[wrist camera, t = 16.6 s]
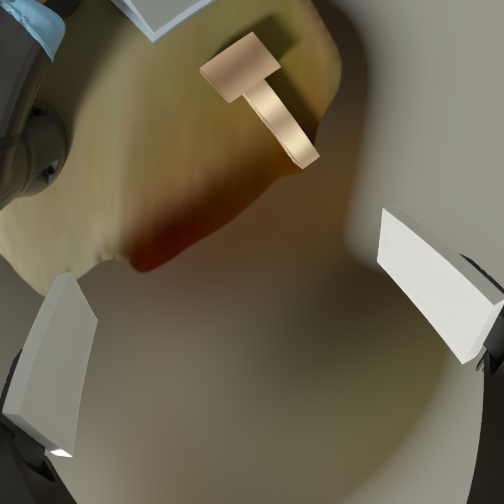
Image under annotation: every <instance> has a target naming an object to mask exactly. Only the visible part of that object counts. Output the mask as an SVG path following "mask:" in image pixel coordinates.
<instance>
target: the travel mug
mask: <svg viewBox="0 0 504 504" xmlns="http://www.w3.org/2000/svg"><path fill="white" fill-rule="evenodd" d="M35 1H37V2H39V3H41V4H43V5H44V6H46V7H48V8H49V9H51V10H52V11H54V12H55V13H56V14H58V15H59V16H60V17H61V18H62V19H64V18H66V17H68V16H69V15H70V14H71V13H72V12H73V11H74V10H75V9H76V8H77V6H78V5H79V3H80V0H35Z"/></svg>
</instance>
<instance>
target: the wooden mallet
mask: <svg viewBox="0 0 504 504" xmlns="http://www.w3.org/2000/svg"><path fill="white" fill-rule="evenodd" d="M280 67H281V66H280V65H279V63H278V62H277V61H276V60H275V58H274V57H273V56H272V55H271V53H270V52H269V51H268V50H267V48H266V47H265V46H264V45H263V44H262V42H261V41H260V40H259V39H258V38H257V36H256V35H255V34H254V33H253V32H251V33H249V34H248V35H246V36H245V37H243V38H242V39H240V40H239V41H237V42H236V43H234V44H233V45H231V46H230V47H228V48H227V49H225V50H224V51H223V52H221V53H220V54H218V55H217V56H216V57H214V58H213V59H211V60H210V61H209V62H207V63H206V64H205V65H203V66H202V67H201V68H200V72H201V74H202V75H203V76H204V77H205V78H206V79H207V80H208V81H209V83H210V84H211V85H212V86H213V87H214V88H215V89H216V91H217V92H218V93H219V94H220V95H221V96H222V98H223V99H224V100H225V101H226V102H229V103H231V102H232V101H234V100H235V99H236V98H238V97H239V96H241V95H242V96H243V97H244V98H245V99H246V100H247V102H248V103H249V104H250V105H251V107H252V108H253V109H254V110H255V112H256V113H257V114H258V115H259V117H260V118H261V119H262V120H263V122H264V123H265V124H266V126H267V127H268V128H269V129H270V131H271V132H272V133H273V135H274V136H275V137H276V139H277V140H278V141H279V143H280V144H281V145H282V147H283V148H284V149H285V151H286V152H287V153H288V155H289V156H290V157H291V159H292V160H293V161H294V163H295V164H297V165H298V166H299V167H301V168H302V169H304V168H305V167H306V166H308V165H309V164H310V163H312V162H313V161H314V160H315V159H317V158H318V157H320V156H319V154H318V153H317V151H316V150H315V148H314V147H313V145H312V144H311V142H310V141H309V139H308V138H307V136H306V135H305V134H304V132H303V131H302V129H301V128H300V126H299V125H298V124H297V122H296V121H295V119H294V118H293V117H292V115H291V114H290V113H289V111H288V110H287V109H286V107H285V106H284V104H283V103H282V102H281V100H280V99H279V98H278V97H277V95H276V94H275V93H274V91H273V90H272V89H271V87H270V86H269V85H268V84H267V82H266V81H265V80H264V78H266V77H267V76H269V75H270V74H272V73H273V72H274V71H276V70H277V69H279V68H280Z"/></svg>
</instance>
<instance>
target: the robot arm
mask: <svg viewBox="0 0 504 504" xmlns="http://www.w3.org/2000/svg"><path fill="white" fill-rule="evenodd" d="M64 34H65V23H64V21H63V20H62V18H61V17H60V16H59V15H58V14H56V13H55V12H54V11H52V10H51V9H49V8H48V7H46V6H44V5H43V4H41V3H39V2H37V1H35V0H0V211H1V210H2V209H3V208H4V207H6V206H7V205H8V204H9V203H10V202H11V201H13V200H14V199H15V198H20V197H28V196H32V195H35V194H38V193H40V192H41V191H43V190H44V189H45V188H47V187H48V186H49V185H50V184H52V183H53V182H54V180H55V179H56V178H57V177H58V175H59V173H60V171H61V169H62V167H63V165H64V161H65V157H66V150H67V141H66V134H65V130H64V127H63V124H62V122H61V120H60V118H59V116H58V115H57V114H56V113H55V111H54V110H53V109H51V108H50V107H49V106H47V105H45V104H43V103H40V102H35V101H34V100H35V97H36V95H37V92H38V90H39V87H40V85H41V83H42V80H43V78H44V76H45V74H46V72H47V70H48V67H49V65H50V64H52V63H53V61H54V55H55V53H56V51H57V49H58V47H59V45H60V43H61V41H62V39H63V37H64ZM377 262H378V263H379V264H380V265H381V266H382V267H383V268H384V269H385V271H386V272H387V273H388V274H389V275H390V276H391V277H392V278H393V280H394V281H395V282H396V283H397V284H398V285H399V286H400V288H401V289H402V290H403V291H404V292H405V293H406V294H407V296H408V297H409V298H410V299H411V300H412V301H413V303H414V304H415V305H416V306H417V307H418V309H419V310H420V311H421V312H422V313H423V315H424V316H425V317H426V318H427V319H428V321H429V322H430V323H431V324H432V326H433V327H434V328H435V329H436V331H437V332H438V333H439V334H440V335H441V337H442V338H443V339H444V341H445V342H446V343H447V345H448V346H449V347H450V348H451V350H452V351H453V352H454V353H455V355H456V356H457V358H458V359H459V360H460V361H461V363H462V364H464V363H466V362H467V361H469V360H471V359H472V358H474V357H475V356H476V355H477V354H478V352H479V351H480V349H481V347H482V345H484V346H485V347H486V349H487V350H486V352H485V353H484V355H483V357H482V358H481V360H480V361H479V363H478V365H477V367H476V371H478V370H479V369H480V367H481V366H482V364H483V363H484V368H483V369H482V372H484V395H483V412H482V423H481V432H480V440H479V447H478V453H477V459H476V465H475V470H474V475H473V480H472V484H471V488H470V493H469V496H468V500H467V504H504V289H503V288H502V287H501V286H500V285H499V284H498V283H497V282H496V281H495V280H494V279H493V278H492V277H491V276H489V275H487V273H486V272H485V271H484V270H483V269H481V268H480V267H479V266H478V265H477V264H476V263H475V262H474V261H473V260H471V259H469V258H467V257H465V256H463V255H462V254H459V253H457V252H456V251H455V250H454V249H453V248H451V247H450V246H449V245H448V244H447V243H445V242H444V241H443V240H442V239H440V238H439V237H438V236H437V235H435V234H434V233H433V232H432V231H430V230H429V229H427V228H426V227H425V226H424V225H423V224H421V223H420V222H419V221H417V220H416V219H415V218H413V217H412V216H410V215H409V214H408V213H407V212H405V211H404V210H402V209H401V208H400V207H398V206H391V207H385V208H383V212H382V224H381V234H380V242H379V250H378V258H377ZM96 325H97V319H96V317H95V315H94V314H93V312H92V310H91V308H90V306H89V304H88V303H87V301H86V299H85V297H84V295H83V293H82V291H81V289H80V288H79V285H78V284H77V281H76V279H75V277H74V275H73V273H72V272H67V273H63V274H59V275H57V276H56V278H55V280H54V282H53V284H52V286H51V288H50V290H49V292H48V294H47V296H46V298H45V300H44V302H43V304H42V306H41V309H40V311H39V313H38V315H37V317H36V320H35V322H34V324H33V326H32V328H31V331H30V333H29V336H28V338H27V340H26V343H25V345H24V348H23V349H21V350H20V352H19V353H18V355H17V356H16V357H15V359H14V360H13V363H12V365H11V368H10V374H8V377H7V379H6V383H5V385H4V388H3V391H2V395H1V398H0V504H77V503H76V501H75V500H74V499H73V497H72V495H71V494H70V492H69V491H68V490H67V488H66V486H65V485H64V483H63V482H62V480H61V478H60V477H59V475H58V474H57V472H56V470H55V468H54V466H53V465H52V463H51V461H50V460H49V459H48V457H47V456H45V455H44V453H45V448H46V449H47V450H49V451H50V452H52V453H53V454H55V455H58V456H68V457H73V452H74V443H75V434H76V426H77V419H78V412H79V406H80V400H81V394H82V388H83V383H84V378H85V373H86V368H87V363H88V359H89V354H90V350H91V345H92V341H93V337H94V333H95V329H96Z"/></svg>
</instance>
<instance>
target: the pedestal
mask: <svg viewBox="0 0 504 504" xmlns="http://www.w3.org/2000/svg"><path fill="white" fill-rule="evenodd" d="M111 1H112V2H113V3H114V4H115V5H116V6H117V7H118V8H119V9H120V10H121V11H122V12H123V13H124V14H125V15H126V16H127V17H128V18H129V19H130V20H131V21H132V22H133V23H134V24H135V25H136V26H137V27H138V28H139V29H140V30H141V31H142V32H143V33H144V34H145V35H146V36H147V37H148V38H149V39H150V40H151V41H152V42H153V44H155V43H157V42H158V41H159V40H160V39H162V38H163V37H164V36H166V35H167V34H168V33H170V32H171V31H172V30H174V29H175V28H176V27H178V26H179V25H180V24H182V23H183V22H185V21H186V20H188V19H189V18H190V17H192V16H193V15H195V14H196V13H198V12H199V11H201V10H202V9H204V8H206V7H207V6H209V5H210V4H212V3H214V2H215V1H217V0H111Z"/></svg>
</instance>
